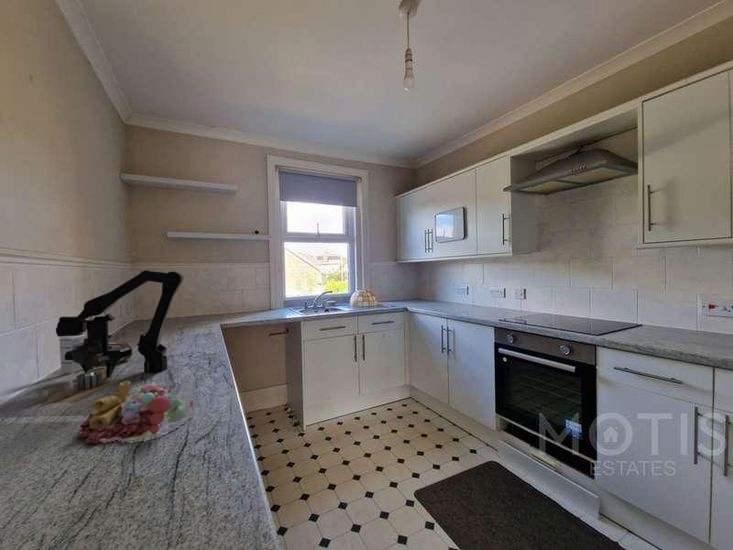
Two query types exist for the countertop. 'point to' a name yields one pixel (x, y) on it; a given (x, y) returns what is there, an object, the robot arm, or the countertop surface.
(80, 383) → the gear
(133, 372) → the countertop surface
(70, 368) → the syrup box
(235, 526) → the countertop surface
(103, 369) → the brass gear
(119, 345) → the tin
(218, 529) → the countertop surface
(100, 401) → the candy landscape model
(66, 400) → the board
